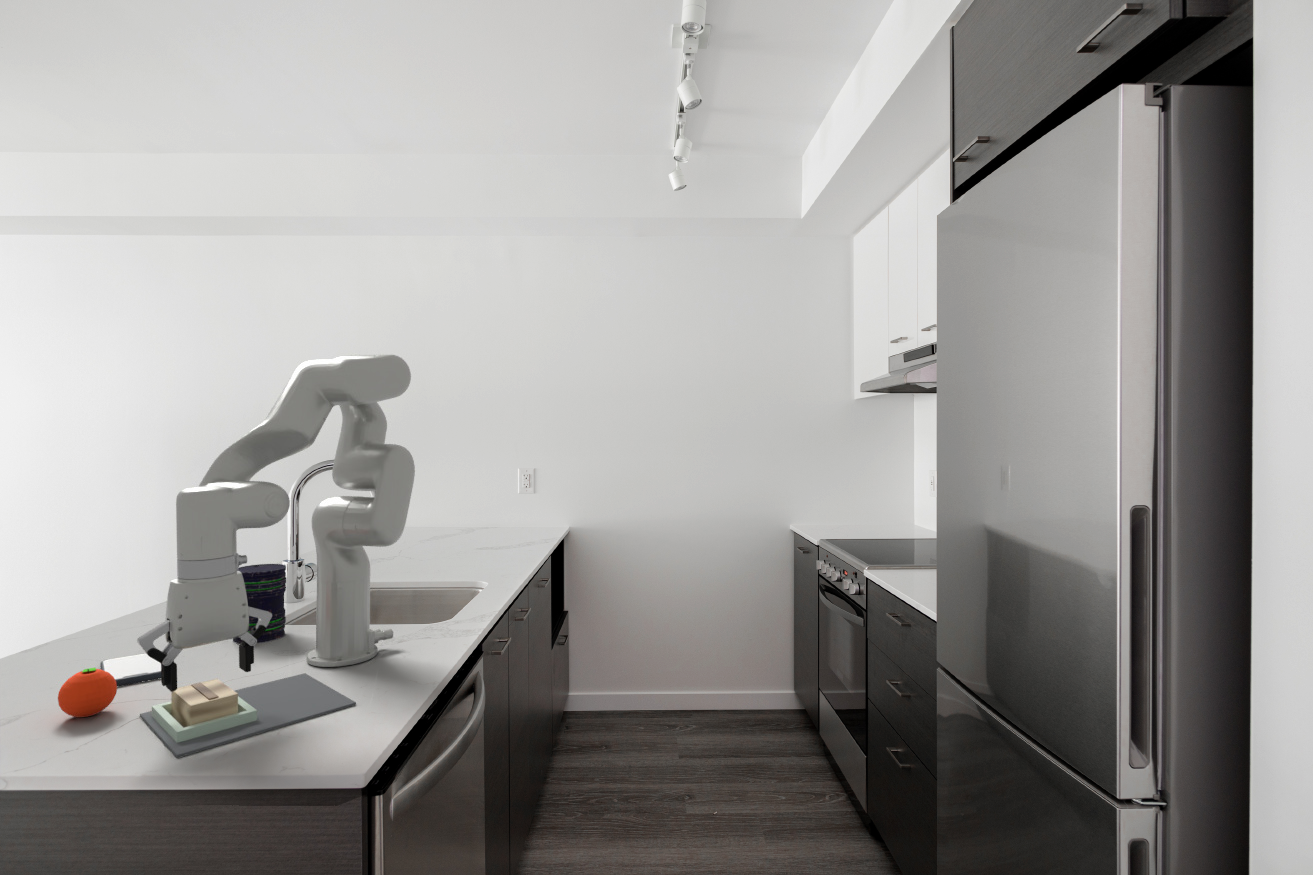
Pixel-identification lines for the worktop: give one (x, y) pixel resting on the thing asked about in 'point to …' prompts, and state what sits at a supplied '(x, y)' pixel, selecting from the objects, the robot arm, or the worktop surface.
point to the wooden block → (203, 702)
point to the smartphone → (132, 669)
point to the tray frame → (181, 734)
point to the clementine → (87, 692)
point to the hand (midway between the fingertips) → (209, 678)
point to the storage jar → (266, 597)
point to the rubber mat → (263, 712)
